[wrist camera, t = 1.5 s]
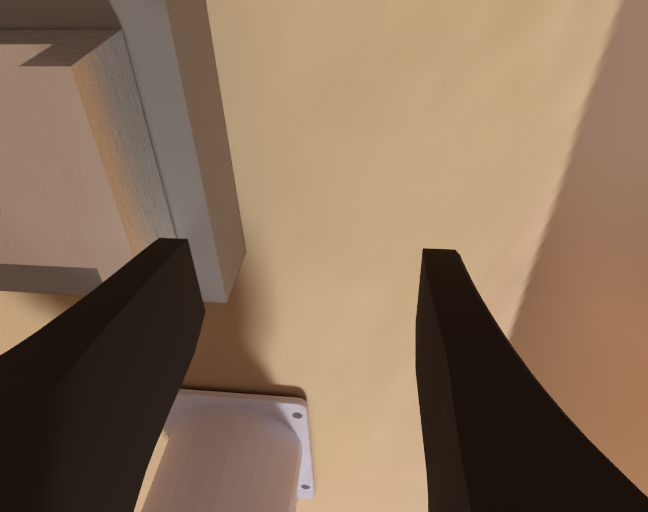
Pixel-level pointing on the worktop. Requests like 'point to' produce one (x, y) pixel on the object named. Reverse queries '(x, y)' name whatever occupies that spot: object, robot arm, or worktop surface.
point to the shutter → (75, 153)
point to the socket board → (158, 132)
